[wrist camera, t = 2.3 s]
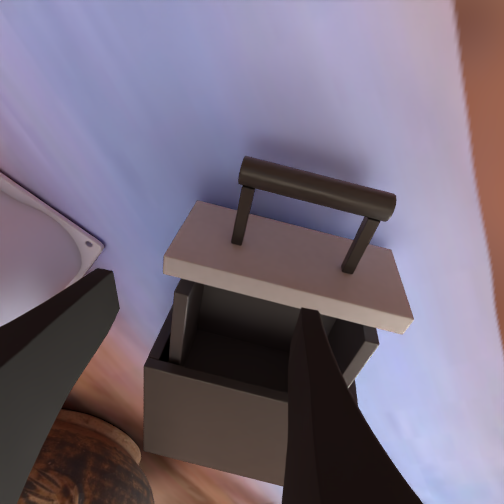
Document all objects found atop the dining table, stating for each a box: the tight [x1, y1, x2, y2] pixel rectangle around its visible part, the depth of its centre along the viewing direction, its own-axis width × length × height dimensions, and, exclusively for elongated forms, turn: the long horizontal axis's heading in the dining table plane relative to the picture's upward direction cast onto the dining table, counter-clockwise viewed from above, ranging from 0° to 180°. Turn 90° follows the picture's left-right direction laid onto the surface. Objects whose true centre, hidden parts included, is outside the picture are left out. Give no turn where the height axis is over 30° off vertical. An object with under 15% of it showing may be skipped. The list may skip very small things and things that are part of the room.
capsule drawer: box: [163, 156, 414, 393], centre depth 20 cm, size 16×12×6 cm
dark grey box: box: [144, 305, 358, 486], centre depth 26 cm, size 12×13×7 cm
